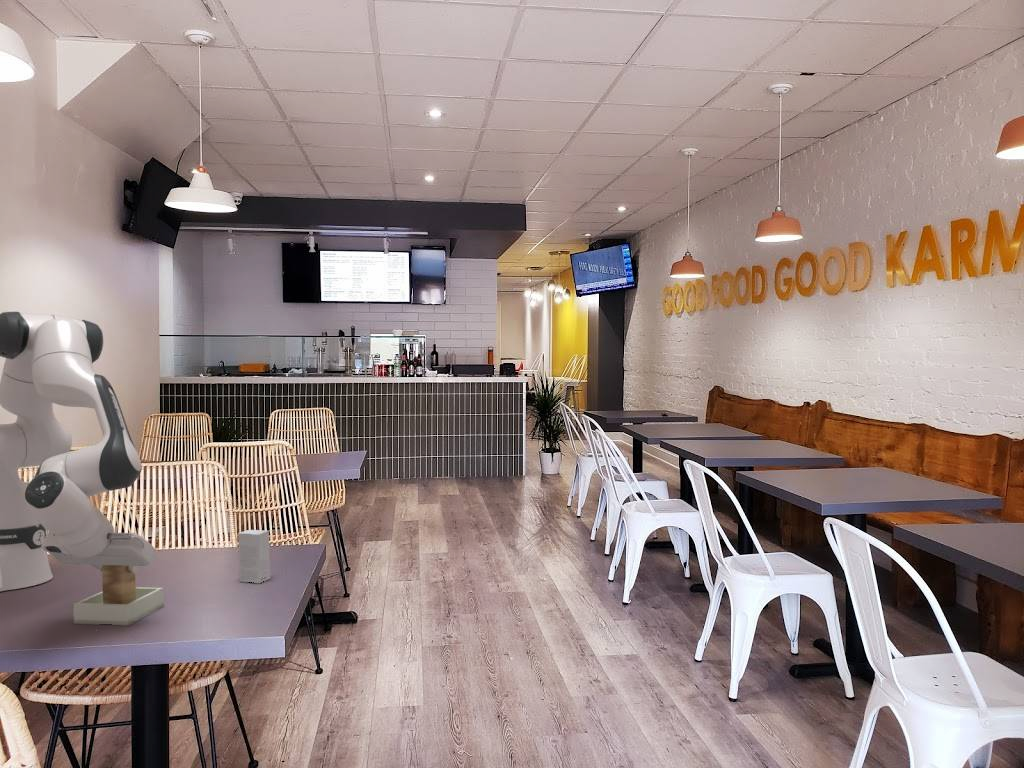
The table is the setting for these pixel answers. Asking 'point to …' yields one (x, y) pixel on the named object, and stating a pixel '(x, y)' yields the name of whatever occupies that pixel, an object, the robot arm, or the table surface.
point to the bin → (118, 608)
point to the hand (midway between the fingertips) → (120, 569)
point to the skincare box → (254, 556)
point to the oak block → (118, 585)
